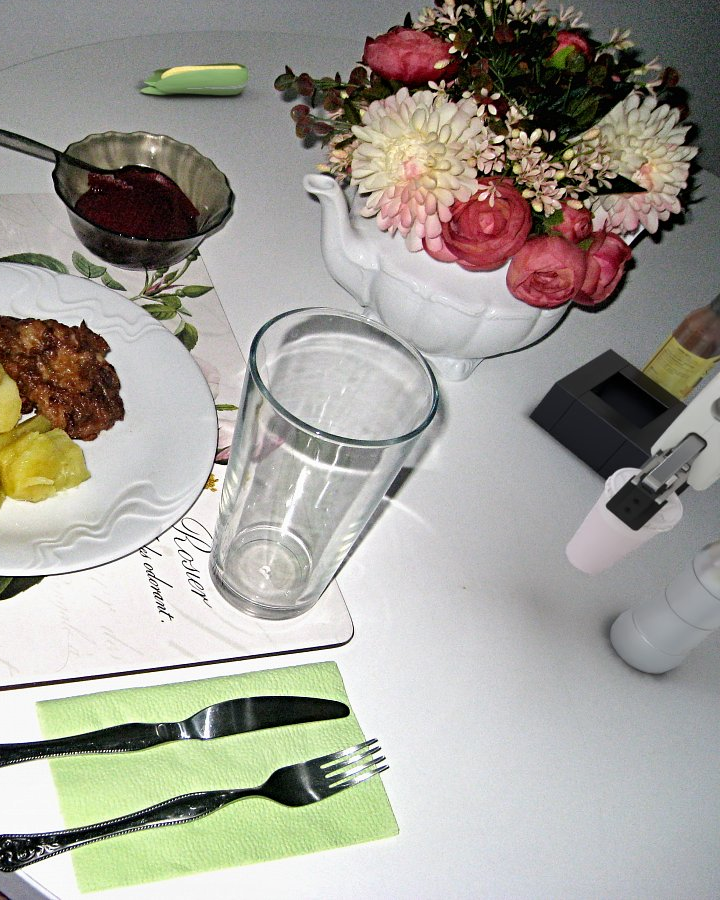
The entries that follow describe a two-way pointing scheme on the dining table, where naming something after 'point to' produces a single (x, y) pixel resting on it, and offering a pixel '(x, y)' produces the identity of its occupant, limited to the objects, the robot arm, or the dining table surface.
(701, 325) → the sauce bottle
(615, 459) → the dark storage bin
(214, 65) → the edible corn
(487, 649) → the dining table surface
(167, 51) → the dining table surface
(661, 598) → the plastic bottle
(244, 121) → the dining table surface
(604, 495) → the smoothie
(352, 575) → the dining table surface
